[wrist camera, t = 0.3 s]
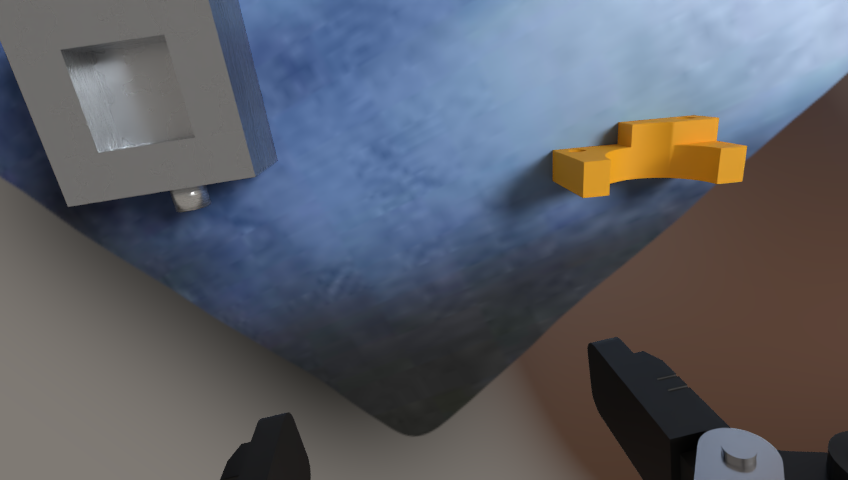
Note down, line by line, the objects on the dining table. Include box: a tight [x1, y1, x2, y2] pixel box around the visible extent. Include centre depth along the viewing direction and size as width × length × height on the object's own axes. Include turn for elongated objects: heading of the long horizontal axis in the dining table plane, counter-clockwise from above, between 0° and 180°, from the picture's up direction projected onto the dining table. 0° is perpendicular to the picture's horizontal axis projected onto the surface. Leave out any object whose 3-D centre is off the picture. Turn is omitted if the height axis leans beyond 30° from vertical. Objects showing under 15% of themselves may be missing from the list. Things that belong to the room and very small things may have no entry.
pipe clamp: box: [553, 115, 747, 198], centre depth 36 cm, size 12×4×6 cm, turn 95°
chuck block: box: [0, 0, 278, 212], centre depth 32 cm, size 14×12×7 cm
